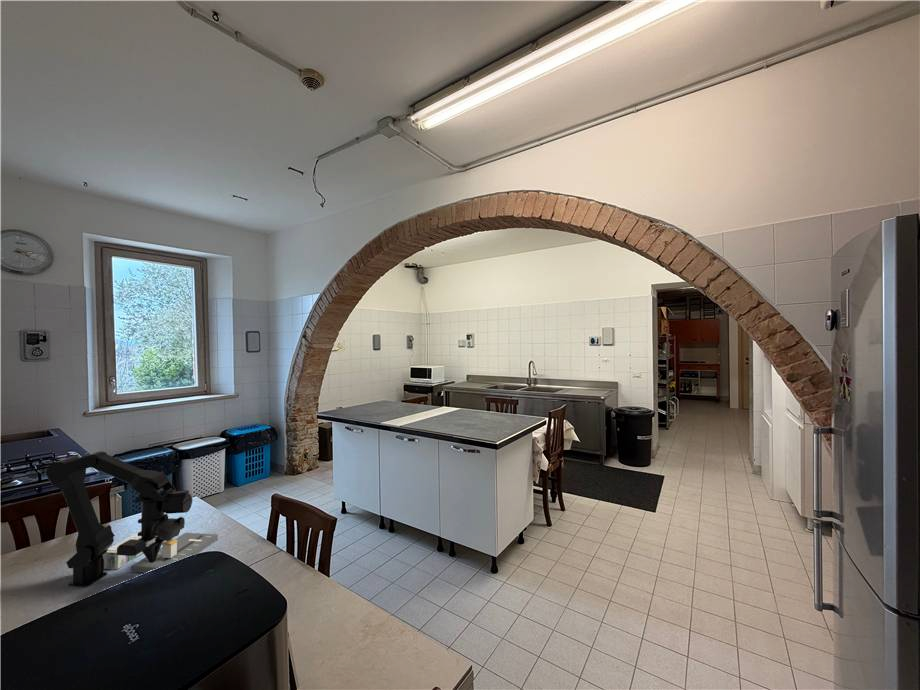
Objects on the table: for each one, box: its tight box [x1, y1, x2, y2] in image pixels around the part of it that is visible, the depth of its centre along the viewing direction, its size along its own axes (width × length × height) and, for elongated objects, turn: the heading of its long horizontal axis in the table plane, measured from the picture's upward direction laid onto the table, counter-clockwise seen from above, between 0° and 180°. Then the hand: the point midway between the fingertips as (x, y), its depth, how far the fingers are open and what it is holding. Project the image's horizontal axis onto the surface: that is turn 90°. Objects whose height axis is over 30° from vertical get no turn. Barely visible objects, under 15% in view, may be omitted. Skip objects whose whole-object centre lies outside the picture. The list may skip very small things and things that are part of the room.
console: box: [130, 532, 219, 574], centre depth 133 cm, size 22×13×3 cm, turn 175°
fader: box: [161, 538, 177, 558], centre depth 128 cm, size 3×3×5 cm
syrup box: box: [103, 530, 144, 570], centre depth 131 cm, size 6×6×14 cm
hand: (152, 562), depth 121 cm, fingers closed
